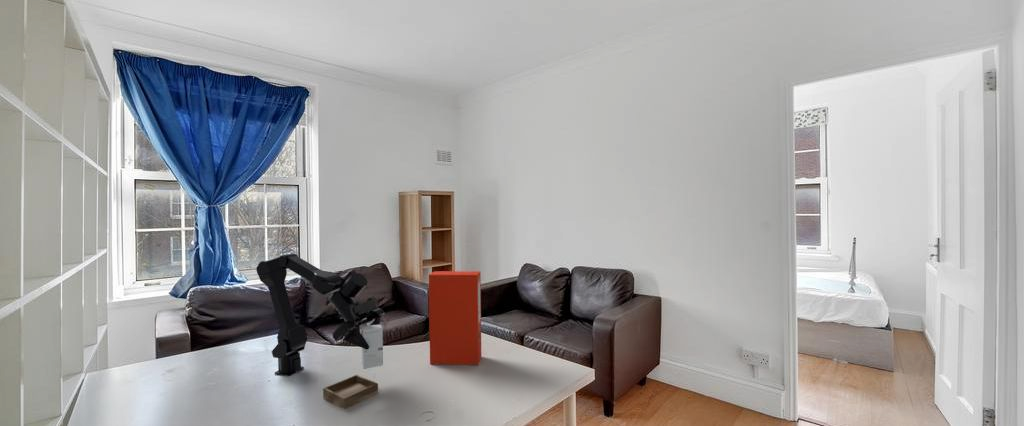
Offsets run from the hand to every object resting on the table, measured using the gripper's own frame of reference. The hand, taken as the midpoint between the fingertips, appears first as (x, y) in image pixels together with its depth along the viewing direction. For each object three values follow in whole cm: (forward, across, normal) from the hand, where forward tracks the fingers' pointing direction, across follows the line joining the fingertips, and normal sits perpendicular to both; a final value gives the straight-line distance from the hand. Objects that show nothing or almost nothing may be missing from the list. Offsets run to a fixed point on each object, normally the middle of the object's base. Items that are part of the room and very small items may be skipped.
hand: (375, 344), depth 123 cm
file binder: (+20, +25, -2) cm, 32 cm away
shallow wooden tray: (+7, -8, +12) cm, 16 cm away
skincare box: (+4, 0, +6) cm, 7 cm away
